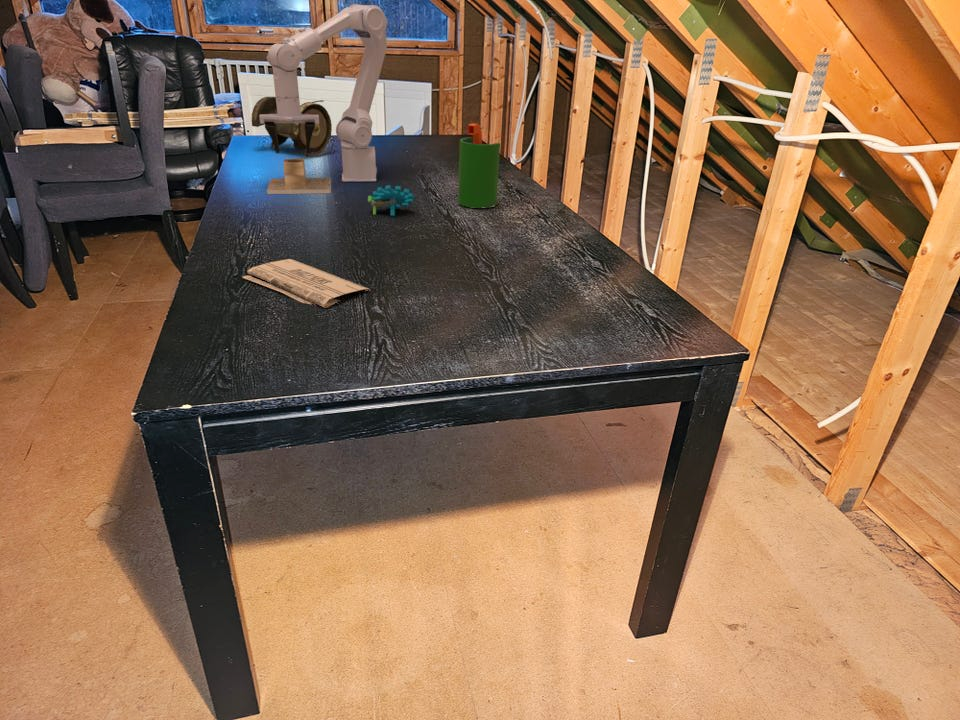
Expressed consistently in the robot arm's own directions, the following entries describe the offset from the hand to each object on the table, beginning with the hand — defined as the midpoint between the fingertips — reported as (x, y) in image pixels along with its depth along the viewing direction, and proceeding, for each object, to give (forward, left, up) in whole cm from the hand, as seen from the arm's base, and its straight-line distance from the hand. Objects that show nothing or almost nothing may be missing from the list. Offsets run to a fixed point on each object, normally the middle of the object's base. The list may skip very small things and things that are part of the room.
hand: (293, 152), depth 171 cm
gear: (-24, +24, -10) cm, 35 cm away
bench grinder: (+1, -44, -10) cm, 45 cm away
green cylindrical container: (-46, +18, -10) cm, 50 cm away
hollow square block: (0, 0, -8) cm, 8 cm away
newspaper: (-5, +67, -10) cm, 68 cm away
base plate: (-1, 0, -9) cm, 9 cm away
